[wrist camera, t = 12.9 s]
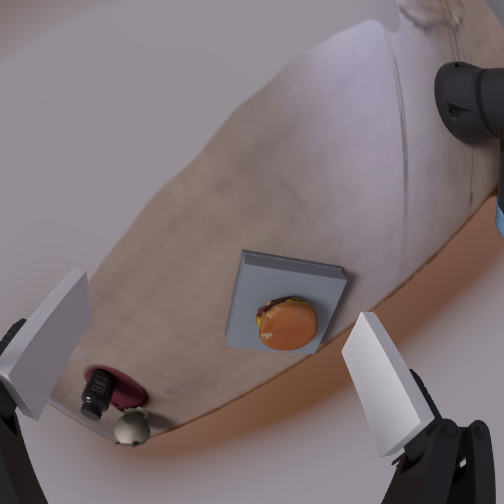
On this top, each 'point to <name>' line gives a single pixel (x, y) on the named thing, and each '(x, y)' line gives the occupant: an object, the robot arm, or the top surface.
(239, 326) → the stacking base
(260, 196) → the top surface
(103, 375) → the supplement bottle
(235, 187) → the top surface
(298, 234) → the top surface
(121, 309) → the top surface
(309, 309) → the burger
